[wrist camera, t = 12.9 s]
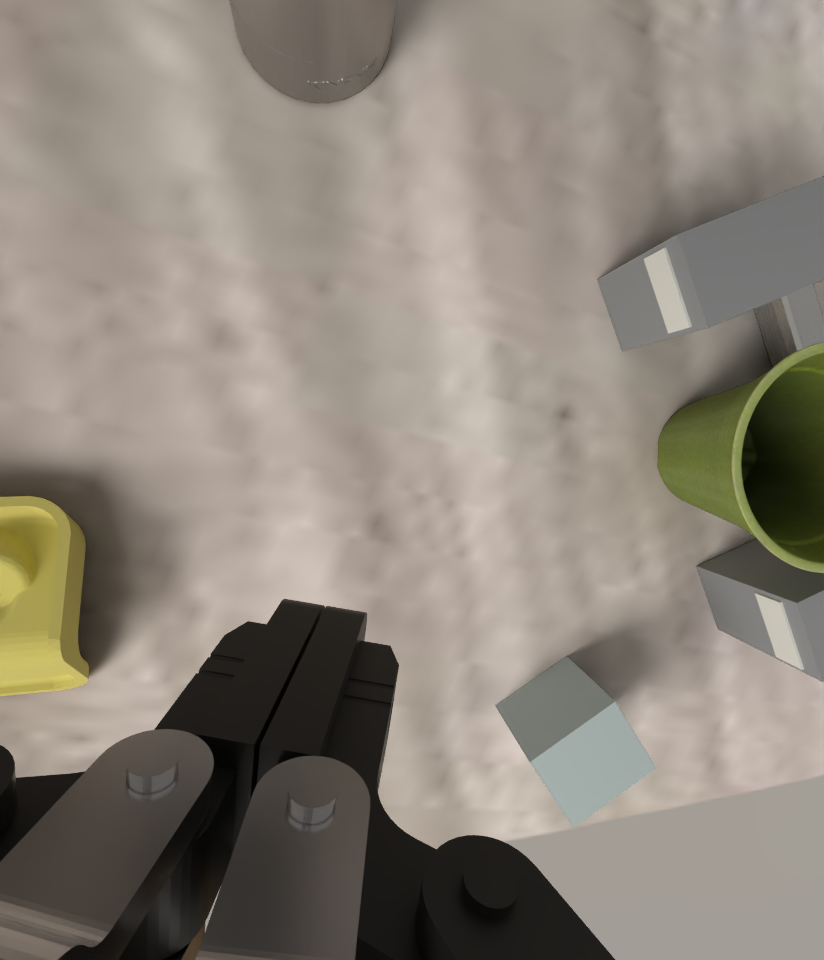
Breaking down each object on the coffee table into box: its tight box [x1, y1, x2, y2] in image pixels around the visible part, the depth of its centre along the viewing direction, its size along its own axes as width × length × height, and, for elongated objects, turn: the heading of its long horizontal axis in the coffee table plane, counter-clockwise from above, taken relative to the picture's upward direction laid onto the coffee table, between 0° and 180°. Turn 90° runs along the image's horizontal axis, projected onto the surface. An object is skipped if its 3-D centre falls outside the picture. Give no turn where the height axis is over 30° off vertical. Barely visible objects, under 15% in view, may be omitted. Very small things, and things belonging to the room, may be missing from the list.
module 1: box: [496, 656, 656, 828], centre depth 37 cm, size 5×6×7 cm
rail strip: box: [754, 284, 824, 368], centre depth 40 cm, size 26×2×3 cm, turn 22°
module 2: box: [597, 176, 824, 351], centre depth 35 cm, size 5×10×9 cm, turn 112°
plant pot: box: [658, 342, 824, 573], centre depth 35 cm, size 12×12×11 cm
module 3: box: [697, 539, 824, 682], centre depth 38 cm, size 5×10×9 cm, turn 112°
